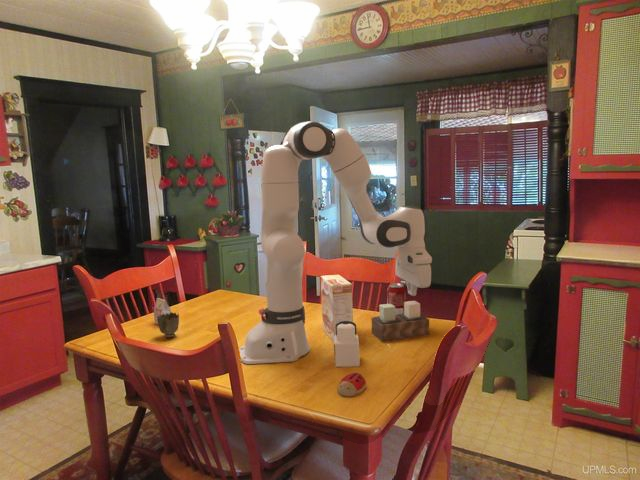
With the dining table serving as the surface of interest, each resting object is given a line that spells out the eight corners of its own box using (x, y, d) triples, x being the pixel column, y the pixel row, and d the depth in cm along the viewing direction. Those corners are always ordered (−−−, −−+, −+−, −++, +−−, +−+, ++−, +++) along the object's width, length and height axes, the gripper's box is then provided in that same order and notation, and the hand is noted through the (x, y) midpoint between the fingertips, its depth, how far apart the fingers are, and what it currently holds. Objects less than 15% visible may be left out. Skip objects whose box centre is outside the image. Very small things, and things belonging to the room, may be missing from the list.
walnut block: (381, 341, 156) (381, 324, 155) (371, 333, 165) (371, 316, 164) (429, 335, 160) (429, 318, 160) (417, 327, 169) (417, 310, 168)
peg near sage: (384, 324, 159) (383, 308, 158) (379, 321, 162) (379, 304, 161) (395, 323, 159) (395, 306, 159) (390, 319, 163) (390, 303, 162)
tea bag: (163, 321, 187) (161, 296, 186) (172, 325, 183) (170, 299, 181) (154, 323, 185) (152, 298, 183) (163, 327, 180) (160, 301, 179)
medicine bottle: (334, 357, 145) (333, 319, 143) (358, 357, 145) (357, 318, 143) (334, 367, 138) (333, 327, 136) (359, 366, 138) (358, 326, 136)
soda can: (405, 318, 179) (405, 287, 177) (387, 318, 180) (386, 287, 178) (405, 313, 185) (405, 282, 183) (388, 312, 187) (387, 282, 185)
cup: (154, 337, 169) (152, 316, 168) (173, 332, 174) (171, 310, 173) (165, 342, 164) (163, 319, 163) (184, 336, 169) (182, 314, 168)
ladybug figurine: (332, 395, 122) (331, 382, 121) (348, 379, 130) (347, 367, 130) (356, 400, 119) (356, 387, 118) (371, 384, 127) (371, 371, 127)
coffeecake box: (322, 329, 171) (319, 275, 168) (341, 327, 173) (339, 273, 170) (333, 343, 157) (331, 285, 154) (354, 341, 158) (352, 283, 155)
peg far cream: (409, 321, 161) (409, 305, 160) (404, 318, 165) (404, 301, 164) (420, 320, 162) (420, 303, 161) (415, 316, 166) (414, 300, 165)
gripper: (390, 250, 169) (391, 288, 171) (416, 260, 149) (416, 303, 151) (406, 248, 170) (407, 286, 173) (434, 258, 151) (435, 301, 153)
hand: (412, 294), depth 162 cm, fingers closed
